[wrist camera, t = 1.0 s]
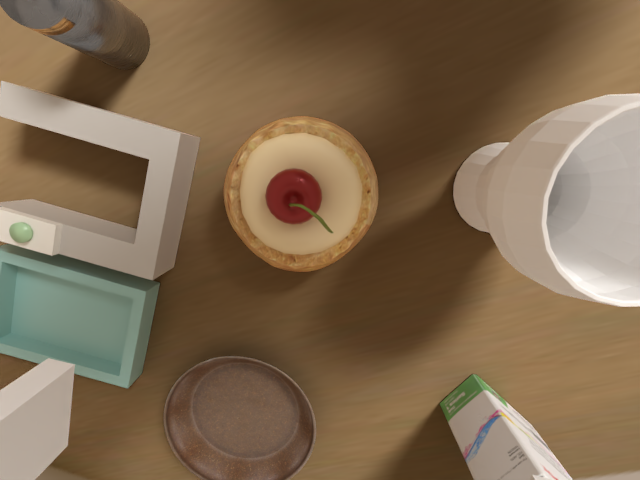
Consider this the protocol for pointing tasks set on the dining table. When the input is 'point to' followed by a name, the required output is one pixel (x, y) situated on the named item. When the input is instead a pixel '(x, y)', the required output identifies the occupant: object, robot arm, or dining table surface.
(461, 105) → the dining table surface
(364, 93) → the dining table surface
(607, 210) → the cup
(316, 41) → the dining table surface
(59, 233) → the white hook bar
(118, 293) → the trough
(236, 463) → the saucer
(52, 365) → the robot arm
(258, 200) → the pastry
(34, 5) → the cell
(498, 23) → the dining table surface
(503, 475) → the ink box
